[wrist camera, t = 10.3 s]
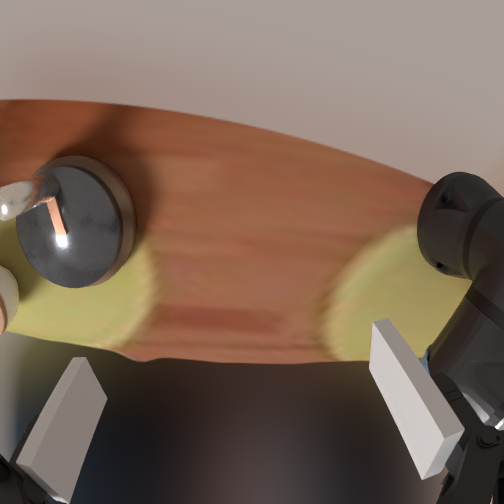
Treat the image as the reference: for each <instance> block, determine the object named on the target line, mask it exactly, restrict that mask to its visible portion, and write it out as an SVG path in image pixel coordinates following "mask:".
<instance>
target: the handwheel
mask: <svg viewBox="0 0 504 504" xmlns="http://www.w3.org/2000/svg"><path fill="white" fill-rule="evenodd" d="M14 217H16V226H17V233H18V238H19V242H20V245H21V247H22V250H23V252H24V254H25V256H26V257H27V259H28V260H29V262H30V263H31V265H32V266H33V267H34V268H35V269H36V270H37V271H38V272H39V273H40V274H41V275H42V276H43V277H45V278H46V279H47V280H49V281H51V282H53V283H55V284H57V285H60V286H63V287H68V288H80V287H85V286H89V285H91V284H93V283H95V282H96V281H98V280H99V279H100V278H102V277H103V276H104V275H105V274H106V272H107V271H108V270H109V269H110V267H111V266H112V265H113V264H114V262H115V260H116V259H117V257H118V255H119V252H120V249H121V246H122V240H123V221H122V215H121V211H120V208H119V205H118V203H117V200H116V198H115V196H114V195H113V193H112V191H111V190H110V188H109V187H108V186H107V185H106V183H105V182H104V181H103V180H102V179H101V178H99V177H98V176H97V175H96V174H94V173H93V172H91V171H89V170H87V169H85V168H82V167H79V166H74V165H63V166H58V167H54V168H50V169H47V170H44V171H42V172H41V173H39V174H37V175H36V176H35V177H32V178H29V179H25V180H22V181H19V182H16V183H13V184H10V185H7V186H4V187H1V188H0V220H2V221H8V220H10V219H12V218H14Z"/></svg>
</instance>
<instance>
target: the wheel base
mask: <svg viewBox="0 0 504 504" xmlns="http://www.w3.org/2000/svg"><path fill="white" fill-rule="evenodd" d="M63 165H74V166H79V167H82V168H85V169H87V170H89V171H91V172H93V173H94V174H96V175H97V176H98V177H99V178H101V179H102V180H103V181H104V182H105V183H106V185H107V186H108V187H109V188H110V190H111V191H112V193H113V195H114V196H115V198H116V200H117V203H118V205H119V208H120V211H121V215H122V221H123V240H122V246H121V249H120V252H119V255H118V257H117V259H116V260H115V262H114V264H113V265H112V266H111V267H110V269H109V270H108V271H107V272H106V274H105V275H104V276H103V277H102V278H100V279H99V280H98V281H96V282H95V283H93V284H91V285H89V286H85V287H90V286H95V285H98V284H101V283H103V282H105V281H107V280H108V279H110V278H111V277H112V276H113V275H115V273H116V272H117V271H118V270H119V269H120V268H121V266H122V265H123V264H124V263H125V261H126V260H127V258H128V257H129V255H130V253H131V251H132V248H133V245H134V242H135V237H136V228H137V223H136V212H135V207H134V204H133V200H132V198H131V195H130V193H129V191H128V189H127V187H126V185H125V184H124V182H123V181H122V179H121V178H120V177H119V176H118V175H117V173H116V172H115V171H114V170H113V169H111V168H110V167H109V166H108V165H106V164H105V163H103V162H101V161H99V160H97V159H95V158H92V157H88V156H82V155H72V156H66V157H61V158H57V159H54V160H52V161H50V162H48V163H46V164H45V165H43V166H42V167H41V168H40V169H38V170H37V171H36V173H35V174H34V175H33V176H32V177H35V176H36V175H37V174H39V173H41V172H42V171H44V170H47V169H50V168H54V167H58V166H63ZM32 177H31V178H32Z"/></svg>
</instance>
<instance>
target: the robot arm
mask: <svg viewBox="0 0 504 504" xmlns="http://www.w3.org/2000/svg"><path fill="white" fill-rule="evenodd" d="M417 237H418V243H419V247H420V250H421V253H422V255H423V257H424V258H425V260H426V261H427V262H428V263H429V264H430V265H431V266H433V267H434V268H435V269H436V270H438V271H439V272H441V273H443V274H445V275H449V276H454V277H459V278H464V279H469V280H472V281H473V283H472V284H471V286H470V288H469V290H468V291H467V293H466V294H465V296H464V298H463V299H462V301H461V303H460V304H459V306H458V307H457V309H456V310H455V312H454V314H453V315H452V317H451V318H450V320H449V321H448V322H447V324H446V325H445V327H444V328H443V330H442V331H441V333H440V334H439V335H438V337H437V338H436V340H435V341H434V342H433V344H431V345H429V347H428V348H427V350H426V352H425V355H424V356H423V358H422V359H421V361H419V360H418V358H417V357H416V355H415V354H414V353H413V351H412V350H411V348H410V347H409V346H408V344H407V343H406V341H405V340H404V339H403V337H402V336H401V334H400V333H399V332H398V330H397V329H396V328H395V326H394V325H393V324H392V322H391V321H390V320H389V319H384V320H380V321H375V322H373V329H372V343H371V354H370V365H369V369H370V371H371V373H372V375H373V377H374V379H375V381H376V383H377V385H378V387H379V389H380V391H381V393H382V395H383V397H384V399H385V401H386V403H387V406H388V407H389V410H390V412H391V414H392V416H393V418H394V420H395V422H396V424H397V426H398V428H399V430H400V433H401V434H402V437H403V439H404V441H405V443H406V445H407V448H408V450H409V452H410V454H411V456H412V458H413V461H414V463H415V465H416V467H417V469H418V472H419V474H420V476H421V478H422V480H423V479H426V478H428V477H430V476H433V475H435V474H438V473H440V472H441V470H442V469H443V467H444V466H445V465H446V467H447V469H448V471H449V472H448V473H447V475H446V477H445V478H444V480H443V481H442V483H441V484H443V487H442V490H441V492H440V495H439V498H438V500H437V503H436V504H490V502H491V498H492V495H493V503H492V504H504V198H503V197H502V196H501V195H500V194H499V193H498V192H497V191H496V190H495V189H494V188H493V187H492V186H490V185H489V184H488V183H487V182H486V181H485V180H484V179H482V178H480V177H478V176H476V175H473V174H469V173H465V172H454V173H451V174H448V175H446V176H444V177H443V178H441V179H440V180H439V181H438V182H437V183H436V184H435V185H434V186H433V187H432V188H431V190H430V191H429V193H428V194H427V196H426V198H425V200H424V202H423V204H422V207H421V210H420V213H419V218H418V225H417ZM106 400H107V397H106V395H105V393H104V392H103V390H102V388H101V386H100V384H99V382H98V380H97V379H96V377H95V375H94V373H93V371H92V369H91V367H90V365H89V363H88V361H87V359H86V358H85V357H76V358H73V359H72V361H71V362H70V364H69V365H68V367H67V369H66V370H65V372H64V374H63V375H62V377H61V379H60V380H59V382H58V384H57V386H56V387H55V389H54V391H53V392H52V394H51V396H50V398H49V400H48V401H47V403H46V405H45V407H44V408H43V411H42V412H41V414H40V415H37V416H35V417H34V418H33V419H32V420H31V421H30V422H29V424H28V426H27V428H26V430H25V433H23V435H22V439H21V440H20V441H19V443H18V445H17V447H16V449H15V451H14V453H13V455H12V457H11V459H10V461H9V463H8V462H7V461H6V459H5V458H4V457H3V456H2V455H1V454H0V504H50V503H49V501H48V500H47V499H46V495H47V493H48V494H49V495H50V496H51V497H52V498H54V499H55V500H57V501H61V502H65V503H70V500H71V496H72V494H73V490H74V487H75V484H76V481H77V478H78V475H79V472H80V470H81V467H82V464H83V461H84V458H85V455H86V453H87V450H88V447H89V444H90V441H91V439H92V436H93V434H94V431H95V428H96V425H97V423H98V420H99V418H100V415H101V413H102V410H103V408H104V405H105V403H106Z"/></svg>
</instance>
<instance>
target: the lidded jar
mask: <svg viewBox="0 0 504 504" xmlns="http://www.w3.org/2000/svg"><path fill="white" fill-rule="evenodd" d="M18 305H19V289H18V284H17V281H16V279H15V277H14V276H13V274H12V273H11V272H10V271H9V270H8V269H7V268H5V267H2V266H1V265H0V335H1V334H2V333H3V332H4V331H5V329H6V328H7V327H8V325H9V324H10V323H11V321H12V320H13V318H14V317H15V315H16V312H17V309H18Z"/></svg>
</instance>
